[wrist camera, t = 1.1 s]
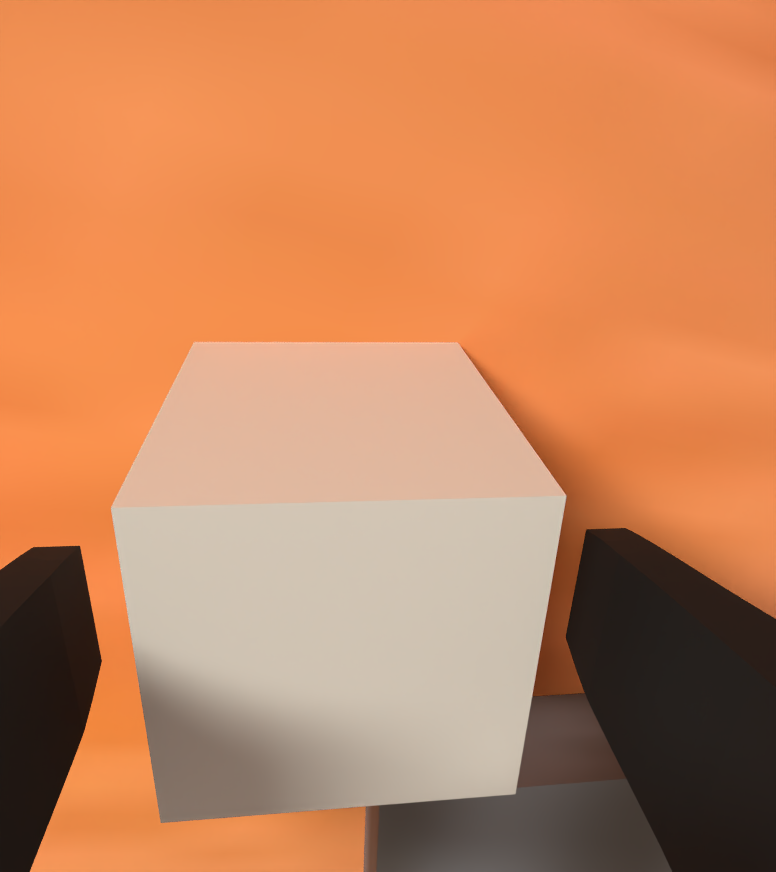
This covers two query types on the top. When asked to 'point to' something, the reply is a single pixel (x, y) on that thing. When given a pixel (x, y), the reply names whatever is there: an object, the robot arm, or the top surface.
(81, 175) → the top surface
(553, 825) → the slate panel
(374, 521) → the cream block
